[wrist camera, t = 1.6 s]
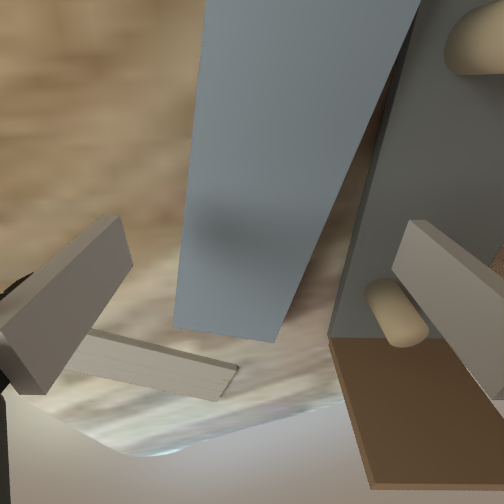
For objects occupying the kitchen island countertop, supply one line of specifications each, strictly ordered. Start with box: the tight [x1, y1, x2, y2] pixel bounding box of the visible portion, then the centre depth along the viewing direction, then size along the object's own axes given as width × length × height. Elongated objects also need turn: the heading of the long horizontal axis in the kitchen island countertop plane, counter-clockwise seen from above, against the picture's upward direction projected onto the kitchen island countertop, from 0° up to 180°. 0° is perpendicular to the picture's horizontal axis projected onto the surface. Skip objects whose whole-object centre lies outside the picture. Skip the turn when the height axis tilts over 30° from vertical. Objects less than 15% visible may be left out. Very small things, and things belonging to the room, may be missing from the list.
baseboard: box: [64, 328, 237, 402], centre depth 31 cm, size 30×3×10 cm
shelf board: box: [173, 0, 421, 343], centre depth 18 cm, size 9×26×4 cm, turn 167°
